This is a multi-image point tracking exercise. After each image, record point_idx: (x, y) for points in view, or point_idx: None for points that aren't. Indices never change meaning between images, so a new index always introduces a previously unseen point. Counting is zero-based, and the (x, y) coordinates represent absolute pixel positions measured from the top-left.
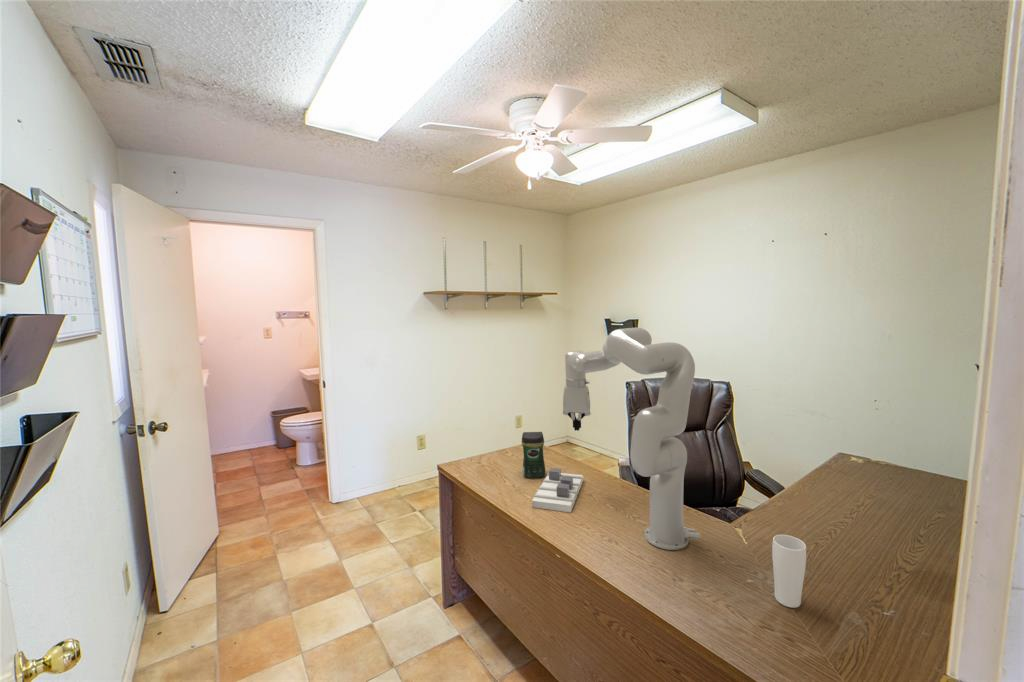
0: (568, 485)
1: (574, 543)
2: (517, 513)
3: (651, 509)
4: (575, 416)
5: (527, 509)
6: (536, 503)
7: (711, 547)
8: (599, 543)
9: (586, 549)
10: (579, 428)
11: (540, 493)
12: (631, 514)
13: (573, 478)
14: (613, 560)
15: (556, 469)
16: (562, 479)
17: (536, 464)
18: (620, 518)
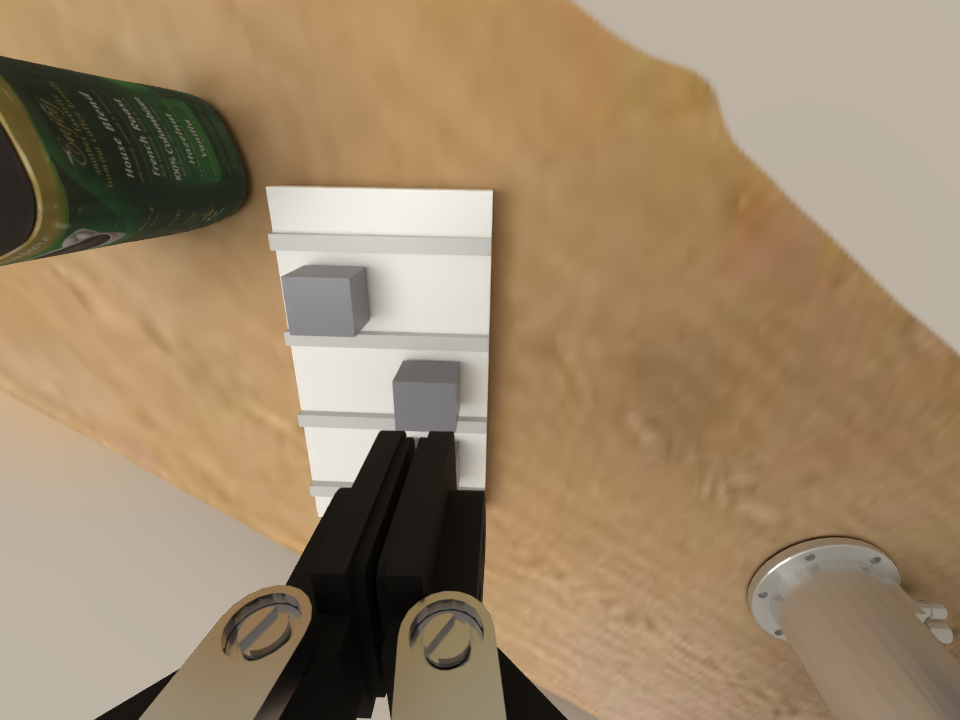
0: None
1: (526, 642)
2: (296, 540)
3: (834, 715)
4: (297, 670)
5: None
6: None
7: (949, 602)
8: (598, 633)
9: (562, 658)
10: (454, 447)
11: (327, 456)
12: (726, 474)
13: (441, 255)
14: (635, 681)
15: (325, 295)
16: (404, 424)
17: (159, 232)
18: (677, 507)
